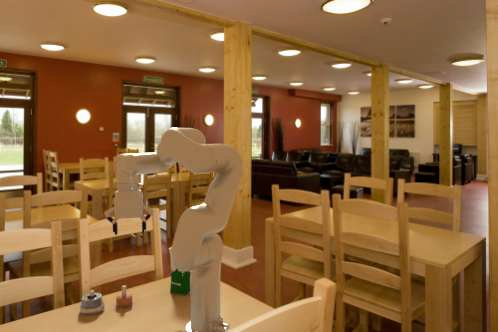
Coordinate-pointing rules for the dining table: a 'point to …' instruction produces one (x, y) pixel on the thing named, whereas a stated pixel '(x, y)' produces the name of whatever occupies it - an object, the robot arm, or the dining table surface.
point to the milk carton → (179, 280)
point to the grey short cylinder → (91, 301)
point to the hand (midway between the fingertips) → (129, 233)
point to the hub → (92, 311)
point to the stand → (124, 299)
